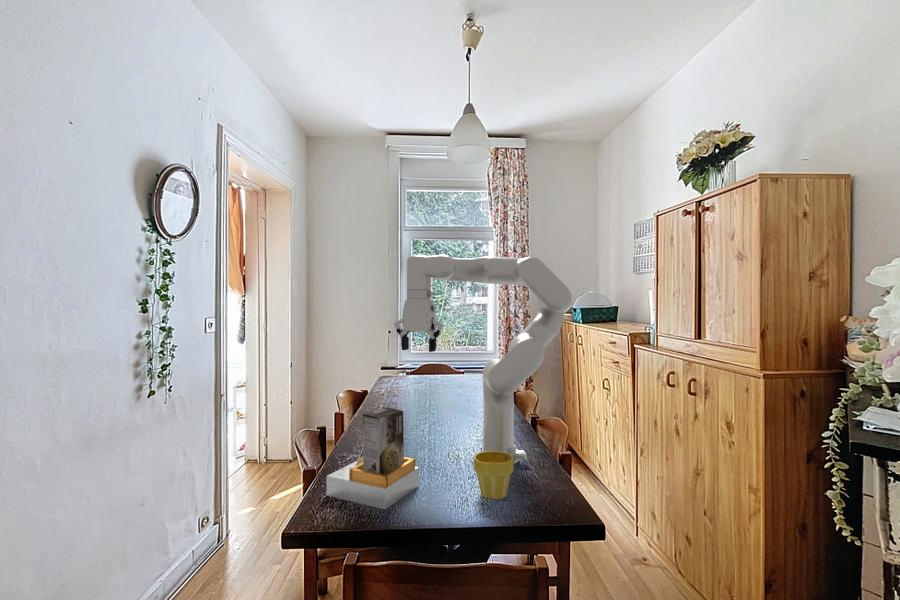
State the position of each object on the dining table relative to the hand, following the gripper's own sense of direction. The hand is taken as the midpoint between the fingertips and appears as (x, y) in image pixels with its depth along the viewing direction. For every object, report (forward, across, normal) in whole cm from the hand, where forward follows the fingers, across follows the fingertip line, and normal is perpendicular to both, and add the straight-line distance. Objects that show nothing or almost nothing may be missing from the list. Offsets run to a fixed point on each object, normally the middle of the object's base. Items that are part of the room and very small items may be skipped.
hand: (418, 350), depth 148 cm
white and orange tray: (+34, -1, +25) cm, 42 cm away
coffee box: (+30, -4, +25) cm, 39 cm away
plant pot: (+34, -30, +13) cm, 48 cm away
